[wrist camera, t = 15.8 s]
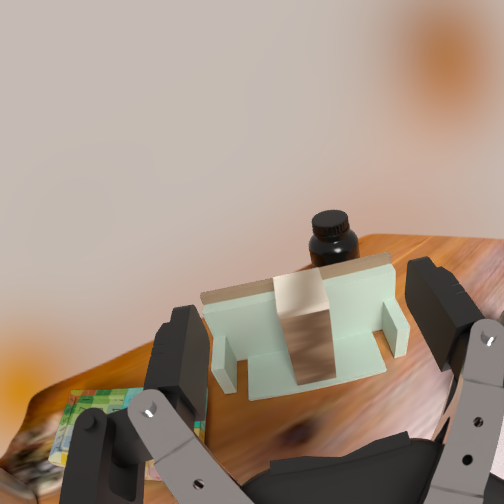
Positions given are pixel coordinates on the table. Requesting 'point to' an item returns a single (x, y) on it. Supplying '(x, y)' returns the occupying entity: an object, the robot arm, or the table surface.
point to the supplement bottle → (332, 239)
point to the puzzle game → (108, 403)
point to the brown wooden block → (306, 325)
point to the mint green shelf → (272, 337)
